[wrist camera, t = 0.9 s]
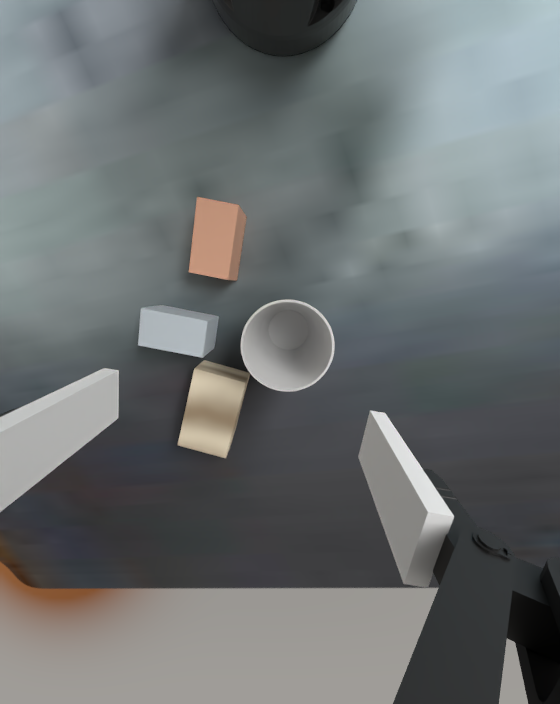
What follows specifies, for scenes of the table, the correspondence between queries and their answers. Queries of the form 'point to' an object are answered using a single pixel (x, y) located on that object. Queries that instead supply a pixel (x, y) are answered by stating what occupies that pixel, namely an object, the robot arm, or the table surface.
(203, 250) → the terracotta block
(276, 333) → the cup
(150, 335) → the slate block
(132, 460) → the table surface
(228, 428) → the maple block
